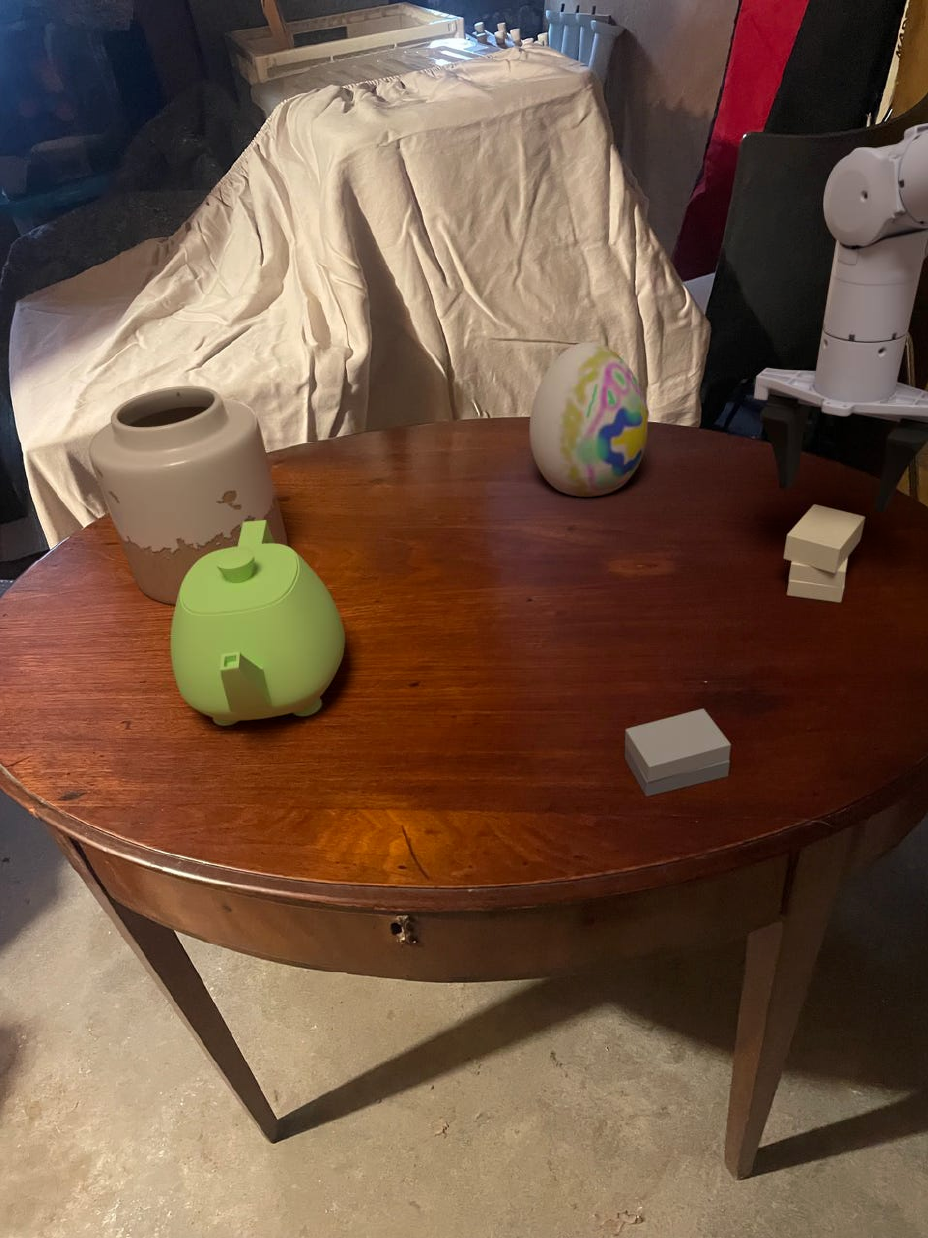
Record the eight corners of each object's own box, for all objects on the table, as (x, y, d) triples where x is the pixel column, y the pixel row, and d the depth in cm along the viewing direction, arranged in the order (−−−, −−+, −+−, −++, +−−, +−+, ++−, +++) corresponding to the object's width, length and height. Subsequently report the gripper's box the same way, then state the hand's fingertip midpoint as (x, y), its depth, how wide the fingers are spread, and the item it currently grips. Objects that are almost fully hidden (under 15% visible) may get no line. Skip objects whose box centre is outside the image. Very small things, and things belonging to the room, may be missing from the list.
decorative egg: (592, 519, 89) (593, 377, 80) (508, 483, 96) (500, 349, 87) (668, 475, 95) (676, 338, 86) (583, 444, 102) (583, 315, 94)
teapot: (349, 764, 64) (317, 627, 56) (166, 786, 64) (109, 652, 56) (354, 606, 80) (329, 483, 72) (208, 623, 80) (168, 502, 72)
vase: (113, 563, 90) (54, 410, 80) (246, 508, 97) (207, 361, 87) (173, 628, 80) (114, 461, 70) (317, 561, 87) (282, 401, 77)
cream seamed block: (792, 558, 80) (797, 528, 78) (845, 565, 79) (851, 534, 77) (785, 595, 76) (790, 564, 74) (841, 603, 74) (848, 572, 72)
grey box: (702, 738, 63) (705, 707, 61) (728, 777, 60) (733, 746, 58) (623, 757, 62) (624, 726, 60) (645, 798, 59) (647, 767, 57)
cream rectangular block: (809, 527, 78) (813, 503, 77) (860, 540, 76) (865, 516, 74) (783, 558, 75) (786, 534, 73) (835, 573, 72) (840, 549, 71)
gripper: (745, 332, 65) (728, 494, 73) (957, 363, 57) (912, 540, 65) (783, 304, 69) (763, 460, 77) (985, 329, 62) (939, 499, 70)
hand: (833, 494), depth 72 cm, fingers open, 7 cm apart
